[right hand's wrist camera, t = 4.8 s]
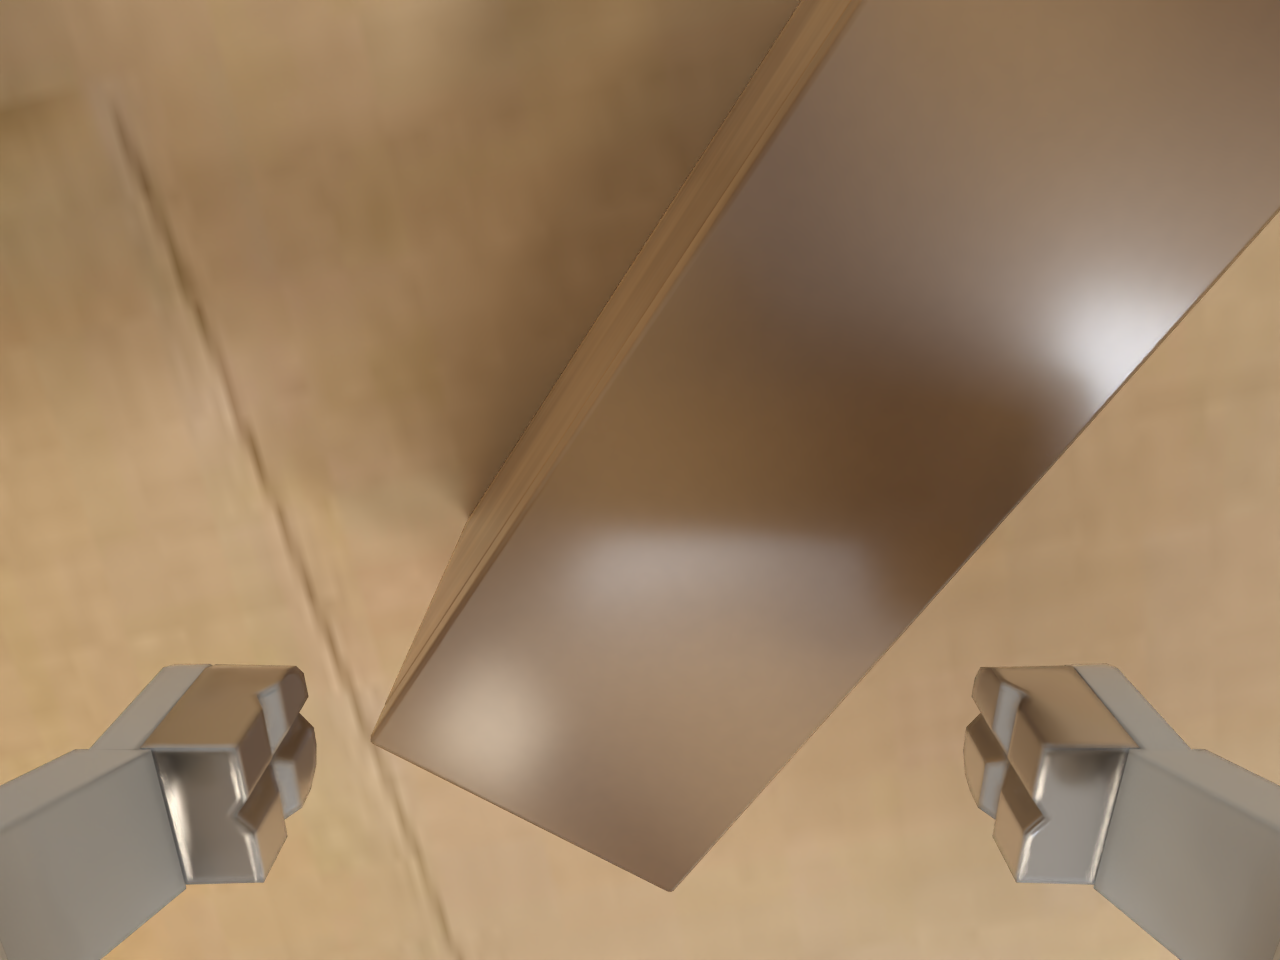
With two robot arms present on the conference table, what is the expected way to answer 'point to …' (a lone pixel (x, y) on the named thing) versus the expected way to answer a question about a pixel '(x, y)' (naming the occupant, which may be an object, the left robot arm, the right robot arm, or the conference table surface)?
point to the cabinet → (829, 393)
